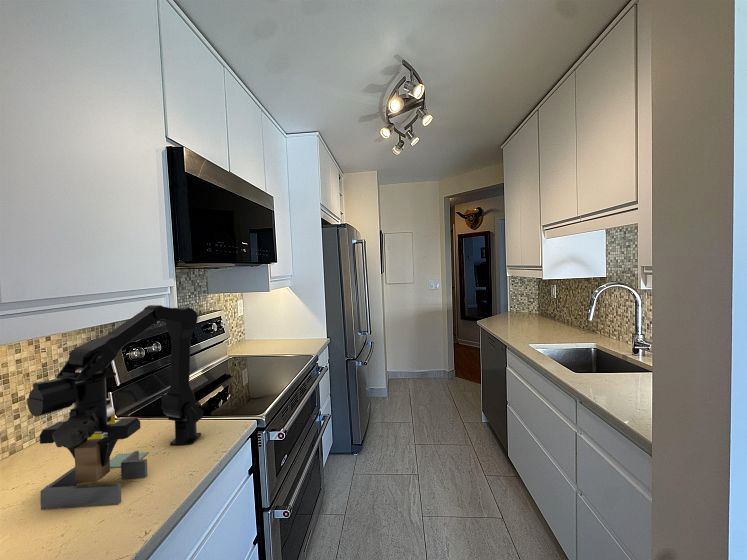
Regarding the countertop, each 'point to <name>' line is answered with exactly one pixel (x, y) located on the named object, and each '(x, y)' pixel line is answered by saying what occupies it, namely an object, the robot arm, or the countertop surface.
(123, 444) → the countertop surface
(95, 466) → the walnut block
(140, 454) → the mat
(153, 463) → the countertop surface
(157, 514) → the countertop surface
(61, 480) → the bent rails
